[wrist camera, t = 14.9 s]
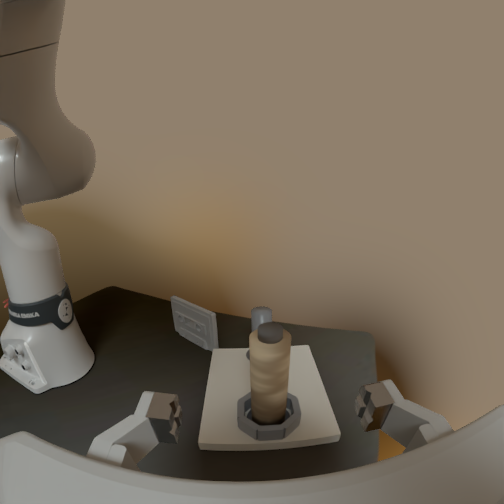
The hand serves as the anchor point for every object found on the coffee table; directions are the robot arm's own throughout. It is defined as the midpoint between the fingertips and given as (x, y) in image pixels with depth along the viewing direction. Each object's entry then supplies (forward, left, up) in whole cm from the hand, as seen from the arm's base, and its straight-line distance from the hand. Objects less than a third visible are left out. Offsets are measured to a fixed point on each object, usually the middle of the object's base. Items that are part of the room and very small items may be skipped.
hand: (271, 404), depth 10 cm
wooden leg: (+1, +14, -17) cm, 22 cm away
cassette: (-11, +35, -19) cm, 41 cm away
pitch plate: (+1, +20, -19) cm, 27 cm away
